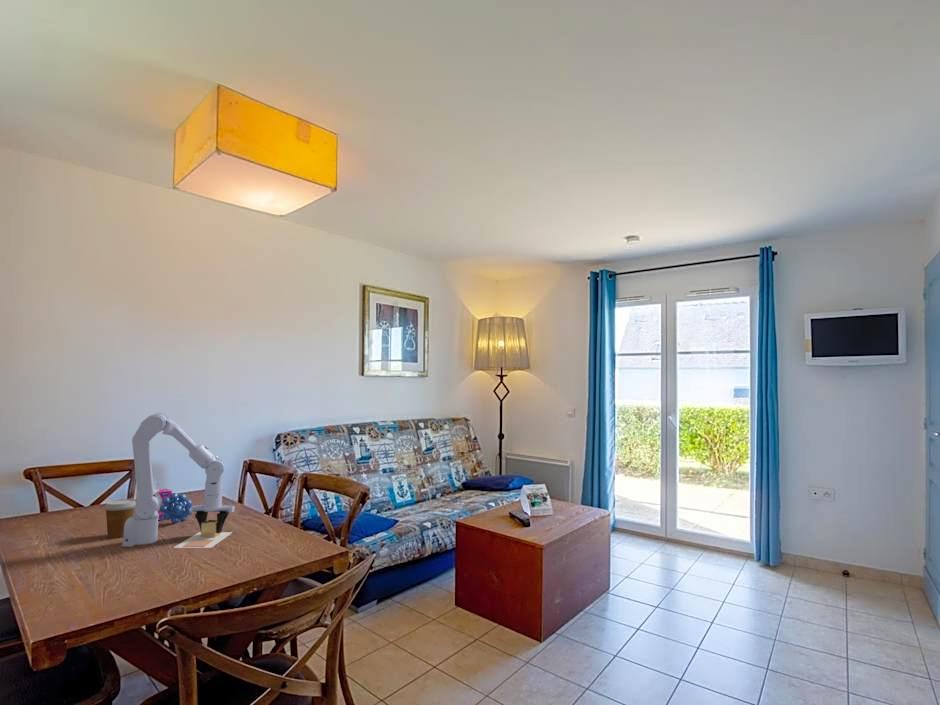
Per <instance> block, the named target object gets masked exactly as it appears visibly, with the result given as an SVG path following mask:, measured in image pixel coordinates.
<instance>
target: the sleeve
mask: <svg viewBox="0 0 940 705" xmlns="http://www.w3.org/2000/svg"><path fill="white" fill-rule="evenodd" d="M217 524H218V523H217V518H215V519H213V518H210V519H208V518H207V520H206V521H204V522H202V524H201V530H200V532H201V537H217V536H218V535H220V534H221V532H222V531H221V532H220V533H217Z"/></svg>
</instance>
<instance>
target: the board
mask: <svg viewBox="0 0 940 705" xmlns="http://www.w3.org/2000/svg"><path fill="white" fill-rule="evenodd" d="M231 534H233V531H231V532H230V531H227V532H226V531H221V534H220V535H218V536H217V537H201V531H199V532H197V533H196V534H194V535H192V536H190V537H189V538H187V539H185V540H184V541H182V542H180V543H179V544H176V545H175V546H173V549H174V548H175V549H211V548H213V547H215V546H216V545H217V544H219V543H221V541H224V539H226V538H227V537H229V536H230V535H231Z"/></svg>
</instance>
